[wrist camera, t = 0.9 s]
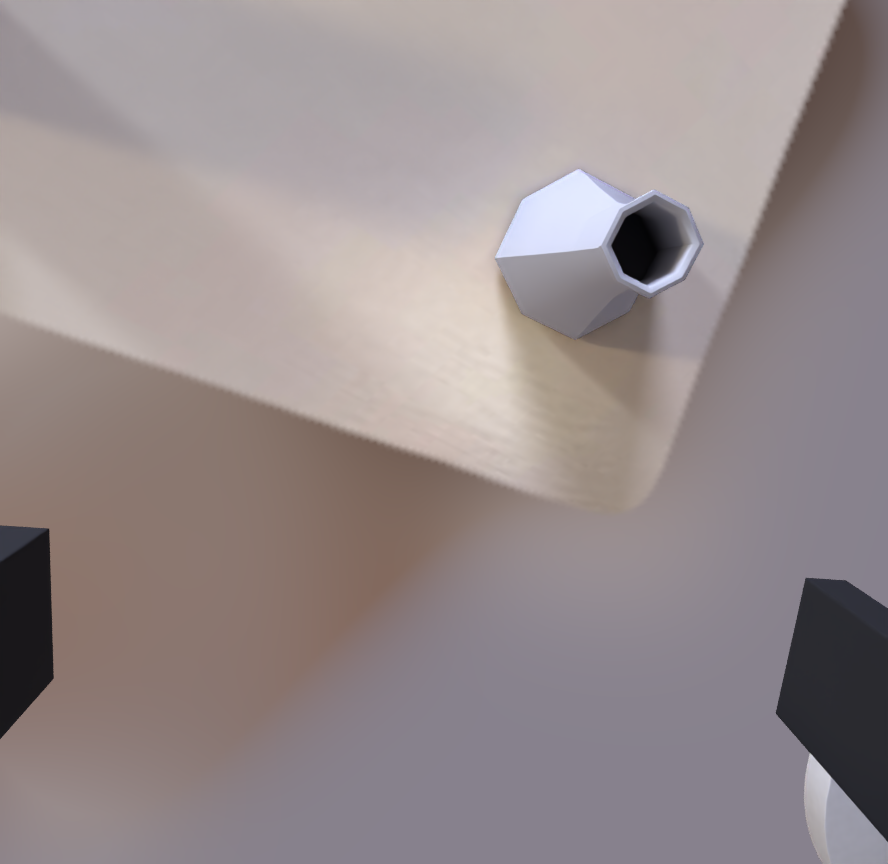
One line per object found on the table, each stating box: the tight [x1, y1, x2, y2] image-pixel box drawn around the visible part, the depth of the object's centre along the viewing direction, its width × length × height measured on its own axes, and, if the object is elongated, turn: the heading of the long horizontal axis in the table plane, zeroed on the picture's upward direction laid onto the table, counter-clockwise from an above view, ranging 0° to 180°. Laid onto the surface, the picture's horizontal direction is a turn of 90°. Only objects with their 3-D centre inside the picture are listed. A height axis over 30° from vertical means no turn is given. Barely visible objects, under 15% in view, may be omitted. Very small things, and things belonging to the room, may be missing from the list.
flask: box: [495, 169, 704, 340], centre depth 27 cm, size 7×7×10 cm
